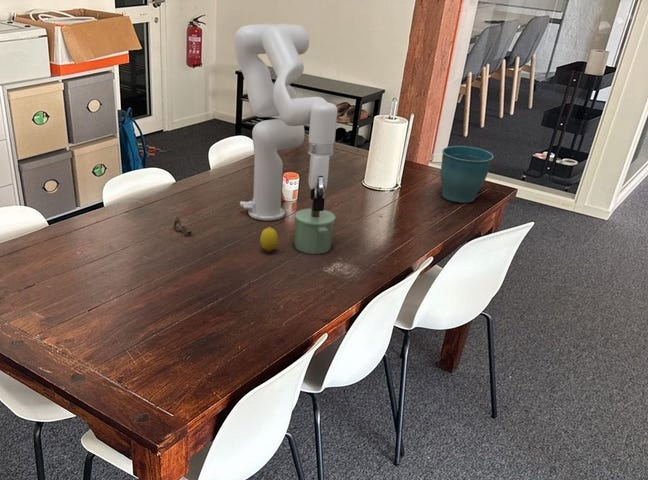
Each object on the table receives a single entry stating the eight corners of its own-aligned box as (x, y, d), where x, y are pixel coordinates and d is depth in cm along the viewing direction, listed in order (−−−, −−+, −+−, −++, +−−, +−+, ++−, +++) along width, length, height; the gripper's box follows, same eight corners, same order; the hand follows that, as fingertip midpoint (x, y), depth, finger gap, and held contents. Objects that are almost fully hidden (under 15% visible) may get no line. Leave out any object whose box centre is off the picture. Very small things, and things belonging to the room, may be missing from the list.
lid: (302, 228, 203) (303, 208, 200) (289, 213, 213) (290, 194, 210) (341, 225, 206) (343, 206, 203) (326, 210, 216) (328, 191, 213)
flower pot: (489, 196, 259) (499, 151, 249) (475, 210, 246) (485, 163, 237) (443, 186, 267) (452, 143, 257) (427, 199, 254) (435, 154, 244)
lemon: (258, 247, 212) (259, 223, 208) (276, 247, 213) (277, 223, 208) (260, 255, 207) (261, 230, 203) (278, 255, 208) (279, 230, 204)
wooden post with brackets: (174, 224, 223) (177, 213, 220) (188, 240, 221) (192, 230, 217) (169, 225, 222) (172, 215, 219) (184, 241, 220) (187, 231, 216)
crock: (304, 258, 206) (306, 229, 201) (287, 237, 220) (289, 209, 215) (339, 255, 209) (342, 226, 204) (320, 234, 223) (323, 206, 217)
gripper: (306, 139, 205) (302, 195, 214) (310, 156, 190) (306, 214, 199) (331, 140, 205) (326, 195, 214) (337, 156, 190) (332, 215, 200)
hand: (316, 205), depth 207 cm, fingers open, 9 cm apart
